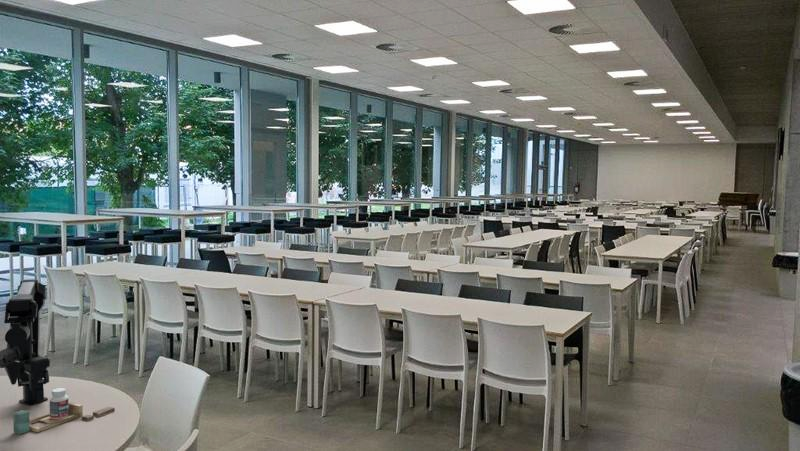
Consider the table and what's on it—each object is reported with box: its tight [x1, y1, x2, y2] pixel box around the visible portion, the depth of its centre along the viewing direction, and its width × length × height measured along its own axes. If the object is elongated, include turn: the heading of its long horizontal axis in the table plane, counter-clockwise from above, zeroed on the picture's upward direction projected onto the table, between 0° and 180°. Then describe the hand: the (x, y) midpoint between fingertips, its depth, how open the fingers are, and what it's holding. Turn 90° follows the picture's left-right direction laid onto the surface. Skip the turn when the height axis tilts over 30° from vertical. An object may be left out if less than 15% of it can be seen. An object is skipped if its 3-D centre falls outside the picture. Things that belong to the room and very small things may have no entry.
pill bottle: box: [49, 387, 69, 420], centre depth 202 cm, size 5×5×9 cm
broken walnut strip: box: [81, 406, 115, 422], centre depth 206 cm, size 3×10×1 cm, turn 154°
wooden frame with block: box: [12, 401, 84, 435], centre depth 198 cm, size 9×19×6 cm, turn 154°
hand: (23, 386), depth 197 cm, fingers open, 9 cm apart
